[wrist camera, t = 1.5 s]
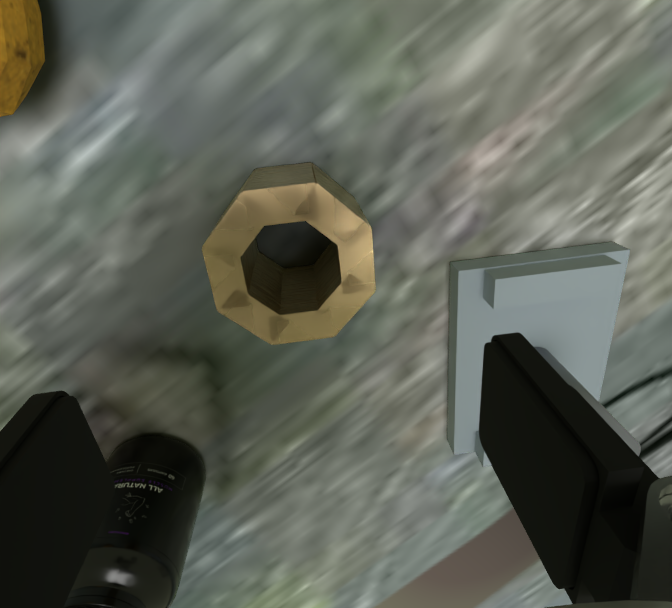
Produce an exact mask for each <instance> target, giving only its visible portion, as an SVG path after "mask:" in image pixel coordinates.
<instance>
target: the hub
mask: <svg viewBox="0 0 672 608" xmlns="http://www.w3.org/2000/svg"><path fill="white" fill-rule="evenodd" d="M300 221H307V222H308V223H309V224H310V225H312V226H313V227H314V228H316V229H317V230H318V231H320V232H321V233H322V234H324V235H325V236H326V237H328V238H329V239H330V240H331V241H332V242H331V244H330V245H329V246H328V247H327V248H326V250H325V251H324V252H323V253H322V255H321V256H320V257H319V258H318V259H317V261H316V262H315V263H314V264H313V265H307V266H299V267H291V268H282V267H281V266H279V265H278V264H276V263H275V262H273V261H272V260H271V259H269V258H268V257H266V256H265V255H263V254H262V253H261V252H259V251H258V246H257V241H256V236H257V234H258V233H259V232H260V231H261V229H262V228H263V227H264V226H267V225H275V224H284V223H292V222H300ZM202 247H203V248H202V252H203V256H204V260H205V264H206V268H207V272H208V276H209V280H210V284H211V288H212V292H213V296H214V300H215V304H216V308H217V310H218V312H220V313H221V314H223V315H224V316H226V317H228V318H229V319H231V320H232V321H234V322H236V323H237V324H239V325H240V326H242V327H244V328H245V329H247V330H248V331H250V332H252V333H253V334H255V335H256V336H258V337H260V338H261V339H263V340H264V341H266V342H268V343H269V344H272V345H276V344H284V343H291V342H299V341H307V340H315V339H322V338H330V337H333V335H334V336H336V335H337V334H338V332H339V331H340V330H341V329H342V328H343V327H344V326H345V325H346V324H347V322H348V321H349V320H350V319H351V318H352V317H353V316H354V315H355V314H356V312H357V311H358V310H359V309H360V308H361V307H362V306H363V305H364V304H365V302H366V301H367V300H368V299H369V298H370V297H371V296H372V295H373V294H374V292H375V290H376V287H375V271H374V256H373V241H372V228H371V226H370V224H369V222H368V221H367V219H366V217H365V215H364V214H363V212H362V210H361V209H360V207H359V205H358V203H357V202H356V200H355V198H354V197H353V196H352V195H351V194H350V193H348V192H347V191H346V190H345V189H344V188H342V187H341V186H340V185H339V184H338V183H336V182H335V181H334V180H333V179H331V178H330V177H329V176H328V175H327V174H325V173H324V172H323V171H322V170H321V169H319V168H318V167H317V166H316V165H314V164H313V163H311V162H307V163H299V164H290V165H282V166H273V167H264V168H256V169H254V171H253V172H252V173H251V175H250V176H249V178H248V179H247V180H246V182H245V183H244V185H243V186H242V187H241V189H240V190H239V192H238V193H237V194H236V196H235V197H234V199H233V200H232V201H231V203H230V204H229V206H228V207H227V208H226V210H225V211H224V213H223V214H222V216H221V218H220V219H219V221H218V222H217V224H216V226H215V227H214V229H213V230H212V232H211V234H210V235H209V237H208V238H207V240H206V242H205V243H204V245H203V246H202Z"/></svg>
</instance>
